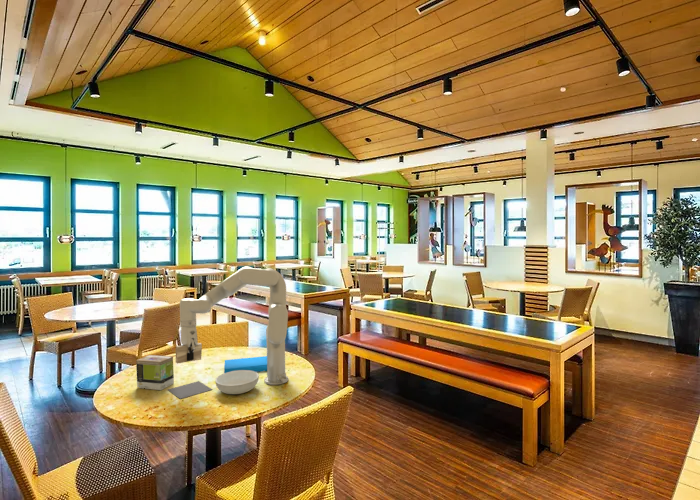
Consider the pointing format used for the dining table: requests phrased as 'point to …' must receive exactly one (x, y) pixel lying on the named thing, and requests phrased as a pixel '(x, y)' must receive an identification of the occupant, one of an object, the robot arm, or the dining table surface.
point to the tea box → (155, 372)
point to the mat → (189, 390)
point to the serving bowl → (237, 381)
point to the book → (246, 364)
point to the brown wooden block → (182, 352)
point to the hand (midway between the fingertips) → (188, 359)
